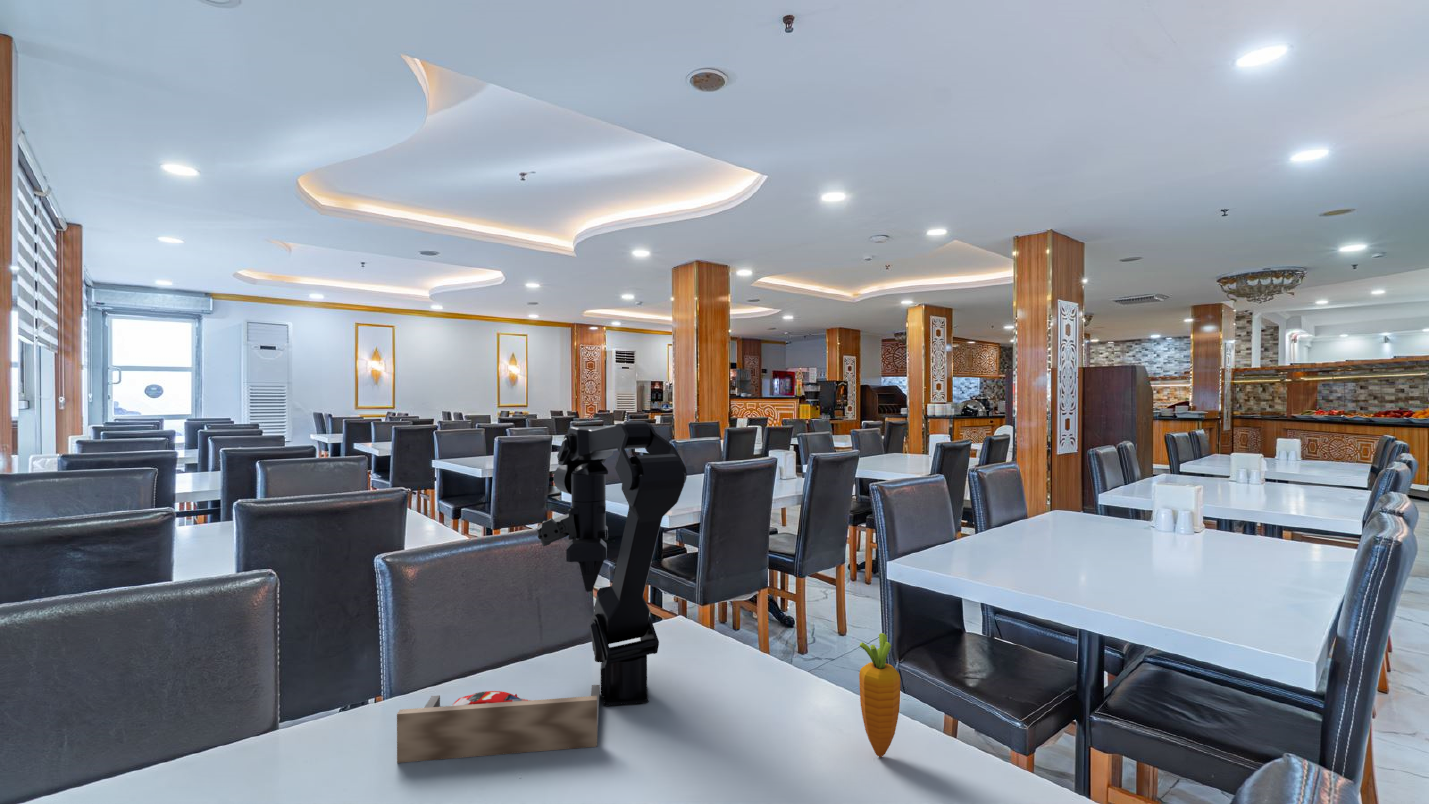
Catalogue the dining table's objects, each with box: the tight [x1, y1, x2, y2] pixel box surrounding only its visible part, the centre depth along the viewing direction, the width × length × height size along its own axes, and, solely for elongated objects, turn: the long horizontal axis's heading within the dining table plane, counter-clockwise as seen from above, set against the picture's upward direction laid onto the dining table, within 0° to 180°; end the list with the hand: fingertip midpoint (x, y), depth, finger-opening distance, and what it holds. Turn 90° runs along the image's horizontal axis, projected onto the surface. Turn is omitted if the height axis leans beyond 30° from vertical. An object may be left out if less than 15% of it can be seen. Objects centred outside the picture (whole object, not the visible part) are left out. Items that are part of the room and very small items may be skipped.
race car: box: [451, 690, 530, 706], centre depth 90 cm, size 13×5×4 cm, turn 85°
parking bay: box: [396, 684, 601, 764], centre depth 89 cm, size 24×15×6 cm, turn 99°
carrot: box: [858, 632, 901, 758], centre depth 81 cm, size 5×5×15 cm
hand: (589, 591), depth 111 cm, fingers closed
